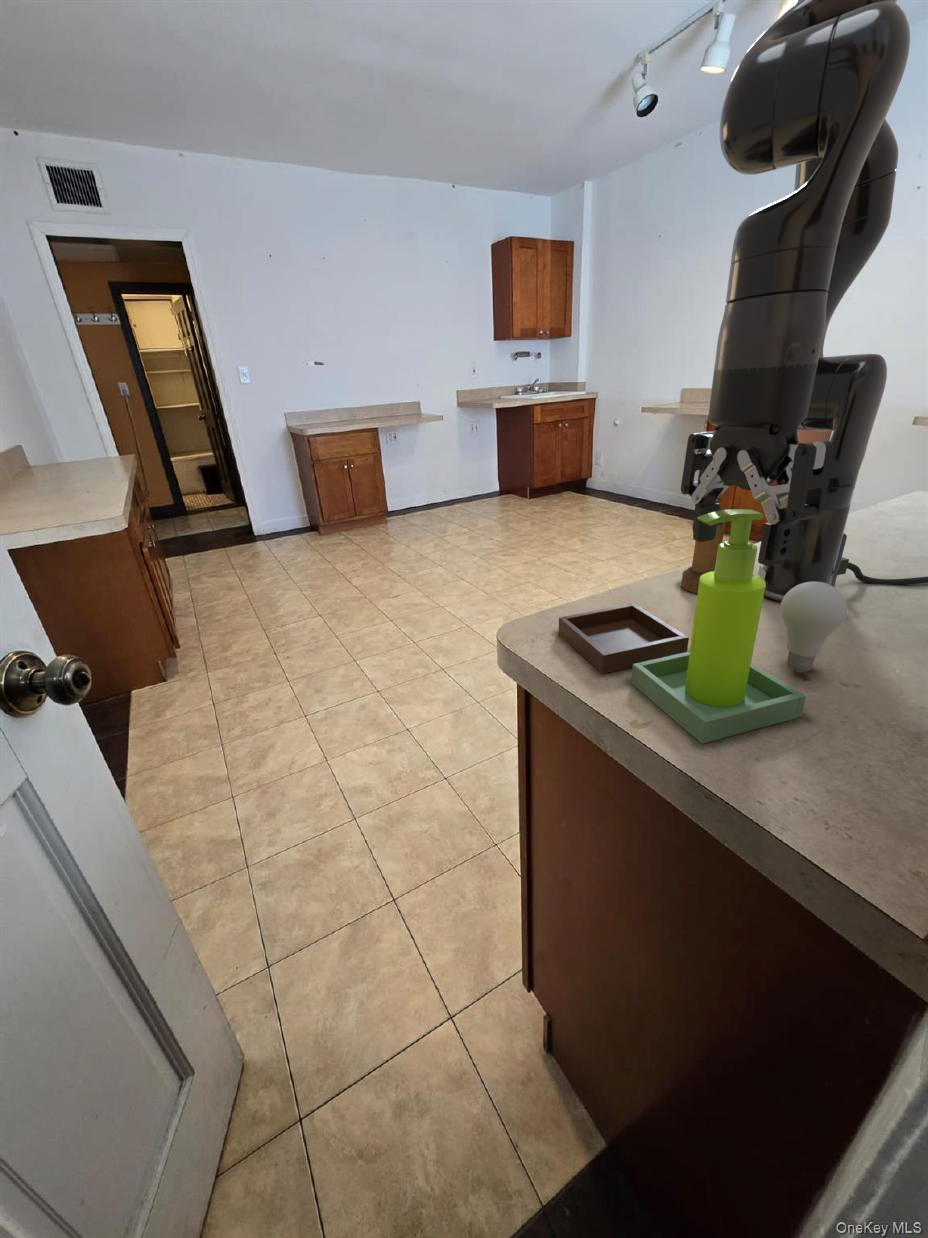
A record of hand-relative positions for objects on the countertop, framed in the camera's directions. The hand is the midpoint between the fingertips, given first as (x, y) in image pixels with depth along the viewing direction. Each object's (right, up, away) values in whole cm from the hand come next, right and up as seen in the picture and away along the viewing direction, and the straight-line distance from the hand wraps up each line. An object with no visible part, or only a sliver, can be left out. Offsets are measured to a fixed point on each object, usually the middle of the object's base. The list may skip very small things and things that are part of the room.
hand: (734, 551), depth 49 cm
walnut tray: (-5, -10, +20) cm, 23 cm away
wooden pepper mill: (+14, -1, +36) cm, 38 cm away
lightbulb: (+13, -13, +11) cm, 21 cm away
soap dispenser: (+1, -15, +7) cm, 16 cm away
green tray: (+1, -15, +7) cm, 17 cm away
